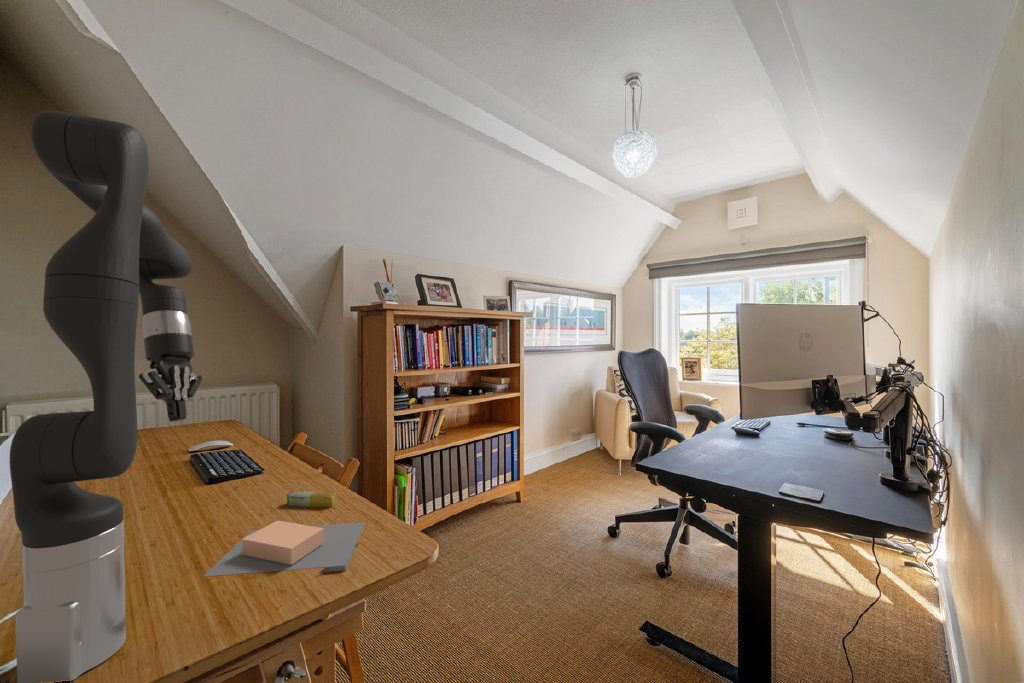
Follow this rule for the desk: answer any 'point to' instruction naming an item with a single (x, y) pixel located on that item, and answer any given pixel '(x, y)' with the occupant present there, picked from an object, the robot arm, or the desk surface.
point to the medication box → (312, 499)
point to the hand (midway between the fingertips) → (178, 420)
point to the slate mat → (329, 555)
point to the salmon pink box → (283, 542)
